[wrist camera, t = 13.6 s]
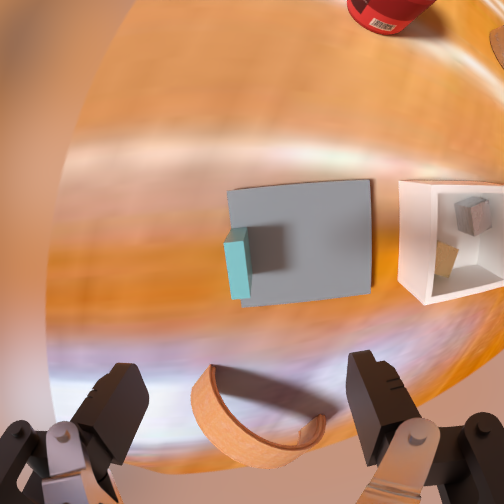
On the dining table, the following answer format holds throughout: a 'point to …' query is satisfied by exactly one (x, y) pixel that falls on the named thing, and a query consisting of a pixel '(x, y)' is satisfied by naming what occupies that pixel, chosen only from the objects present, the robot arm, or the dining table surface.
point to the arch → (245, 430)
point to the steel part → (473, 215)
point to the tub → (448, 240)
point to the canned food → (386, 13)
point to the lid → (299, 242)
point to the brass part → (445, 259)
